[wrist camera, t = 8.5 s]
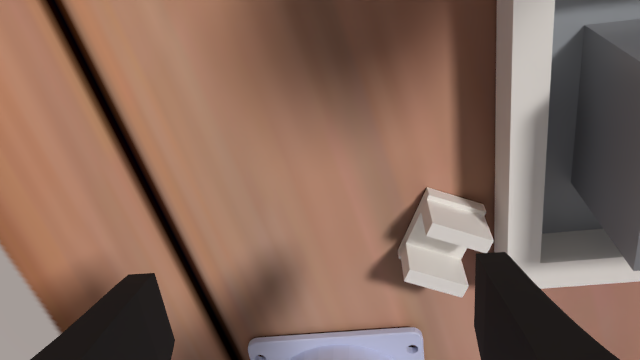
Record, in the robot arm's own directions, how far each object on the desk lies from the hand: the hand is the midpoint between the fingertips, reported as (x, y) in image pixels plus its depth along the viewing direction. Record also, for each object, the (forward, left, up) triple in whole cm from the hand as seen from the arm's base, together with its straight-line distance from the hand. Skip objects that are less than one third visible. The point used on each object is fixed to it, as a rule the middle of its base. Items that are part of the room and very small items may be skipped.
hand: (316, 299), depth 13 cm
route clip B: (-5, -4, -10) cm, 12 cm away
